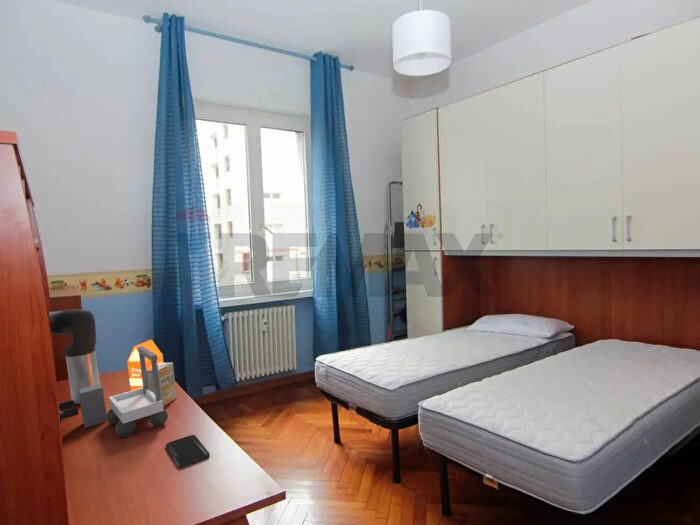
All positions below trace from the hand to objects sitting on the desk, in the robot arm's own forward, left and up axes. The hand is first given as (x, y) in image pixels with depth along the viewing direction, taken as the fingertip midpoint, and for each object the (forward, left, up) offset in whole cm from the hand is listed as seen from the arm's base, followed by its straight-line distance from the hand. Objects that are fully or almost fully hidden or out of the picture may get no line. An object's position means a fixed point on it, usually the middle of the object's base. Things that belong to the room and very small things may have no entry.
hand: (75, 406), depth 134 cm
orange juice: (-8, +23, -7) cm, 25 cm away
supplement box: (+2, +25, -7) cm, 26 cm away
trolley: (+13, +14, -7) cm, 20 cm away
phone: (+42, +19, -7) cm, 47 cm away
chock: (0, +5, -7) cm, 8 cm away
